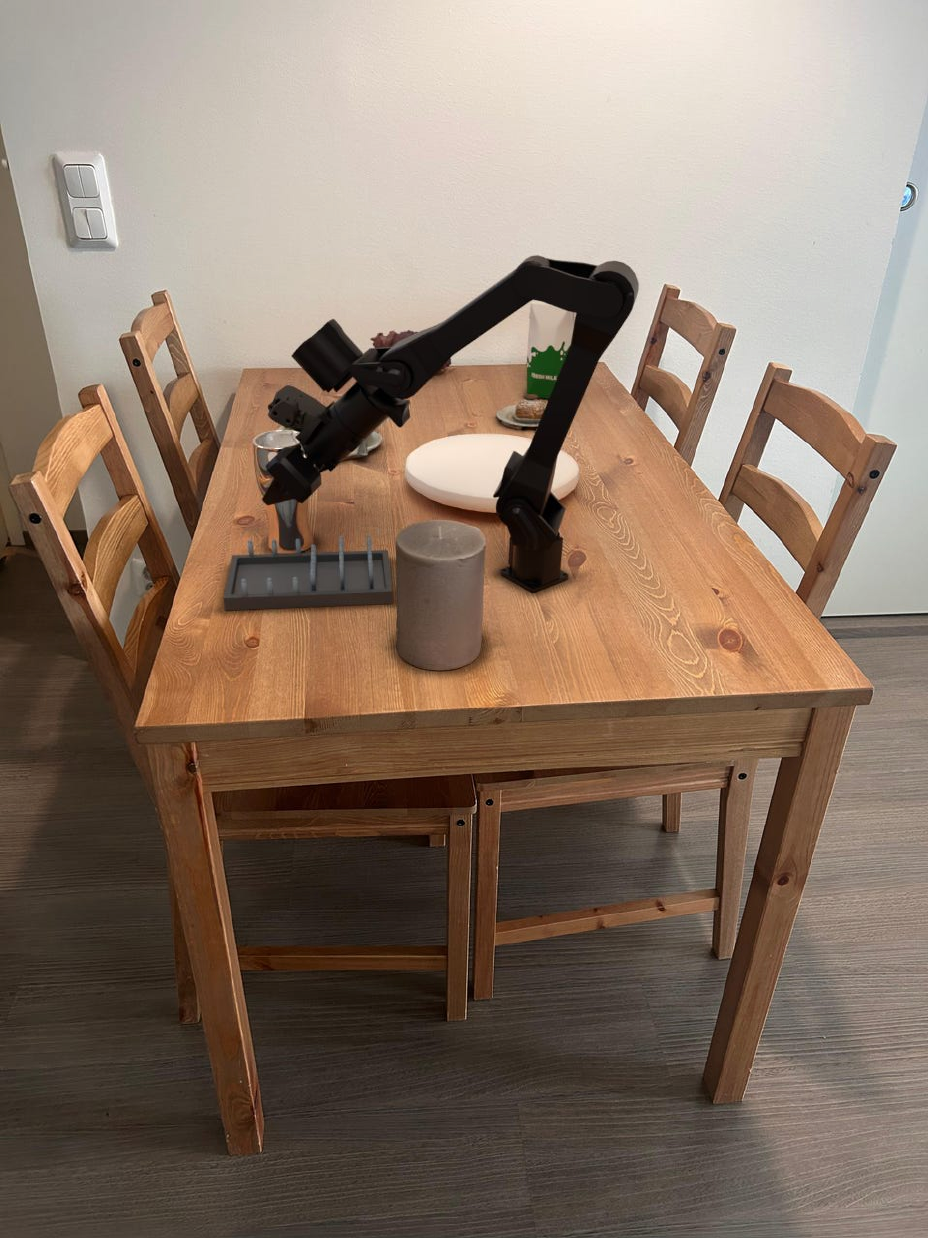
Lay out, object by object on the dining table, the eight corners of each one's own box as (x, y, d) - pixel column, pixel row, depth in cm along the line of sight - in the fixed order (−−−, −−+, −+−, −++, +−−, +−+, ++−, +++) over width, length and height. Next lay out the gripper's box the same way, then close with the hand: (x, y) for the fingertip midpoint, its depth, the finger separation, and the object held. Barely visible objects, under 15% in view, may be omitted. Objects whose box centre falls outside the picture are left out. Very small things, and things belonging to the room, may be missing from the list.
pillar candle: (378, 646, 105) (375, 525, 97) (441, 616, 111) (442, 500, 103) (437, 682, 99) (438, 557, 91) (500, 648, 105) (506, 528, 97)
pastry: (558, 434, 165) (560, 409, 163) (491, 429, 167) (492, 404, 164) (563, 412, 176) (565, 388, 173) (500, 407, 177) (501, 384, 175)
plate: (429, 421, 155) (588, 436, 151) (427, 459, 158) (583, 475, 154) (383, 465, 130) (572, 485, 126) (382, 509, 133) (567, 530, 129)
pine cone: (441, 364, 201) (458, 330, 193) (444, 398, 196) (462, 365, 188) (362, 345, 195) (376, 309, 187) (363, 380, 190) (378, 345, 182)
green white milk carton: (573, 389, 188) (582, 286, 177) (564, 402, 180) (573, 295, 170) (531, 384, 190) (537, 282, 179) (520, 397, 182) (526, 291, 172)
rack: (388, 561, 122) (387, 527, 120) (392, 603, 113) (392, 567, 110) (233, 567, 120) (229, 532, 117) (225, 610, 111) (220, 573, 108)
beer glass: (259, 538, 127) (245, 433, 119) (308, 528, 130) (297, 425, 122) (272, 560, 122) (258, 452, 114) (323, 549, 124) (313, 443, 116)
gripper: (332, 348, 120) (260, 422, 128) (275, 391, 105) (197, 472, 112) (391, 413, 123) (317, 482, 131) (344, 464, 107) (263, 538, 115)
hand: (275, 491), depth 122 cm, fingers closed on beer glass, 7 cm apart
